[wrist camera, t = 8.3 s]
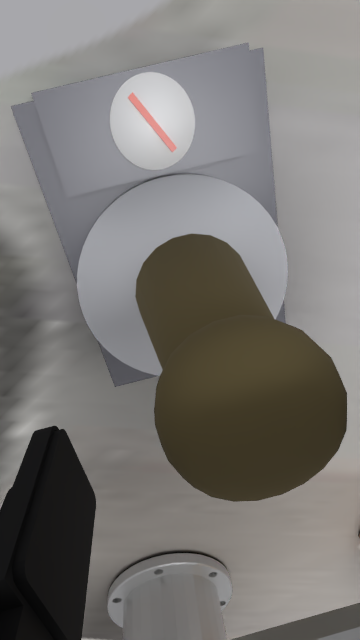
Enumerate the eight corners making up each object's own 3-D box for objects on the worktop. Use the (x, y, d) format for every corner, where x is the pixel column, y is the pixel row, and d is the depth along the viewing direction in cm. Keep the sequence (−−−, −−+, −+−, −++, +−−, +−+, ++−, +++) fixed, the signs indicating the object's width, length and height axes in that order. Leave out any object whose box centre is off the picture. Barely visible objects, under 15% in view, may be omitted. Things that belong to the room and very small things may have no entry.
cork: (183, 361, 20) (237, 565, 10) (110, 286, 17) (82, 459, 7) (270, 296, 19) (427, 452, 9) (204, 206, 16) (320, 282, 6)
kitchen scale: (273, 326, 23) (309, 368, 19) (116, 365, 23) (112, 419, 18) (246, 61, 17) (291, 23, 12) (26, 113, 17) (-17, 94, 12)
